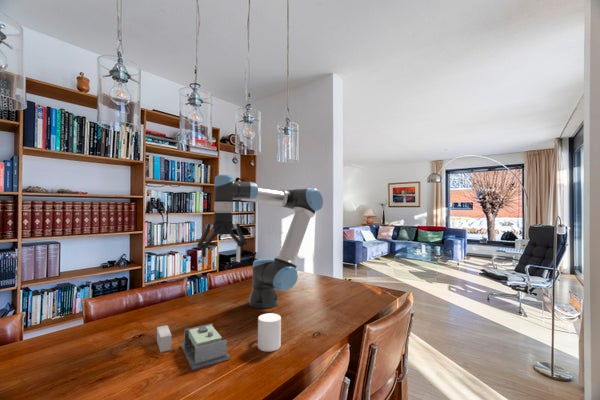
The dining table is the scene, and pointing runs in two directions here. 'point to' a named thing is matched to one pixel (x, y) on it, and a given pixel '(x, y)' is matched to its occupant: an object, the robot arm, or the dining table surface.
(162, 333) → the stand
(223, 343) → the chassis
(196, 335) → the board
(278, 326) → the mug
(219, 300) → the dining table surface
